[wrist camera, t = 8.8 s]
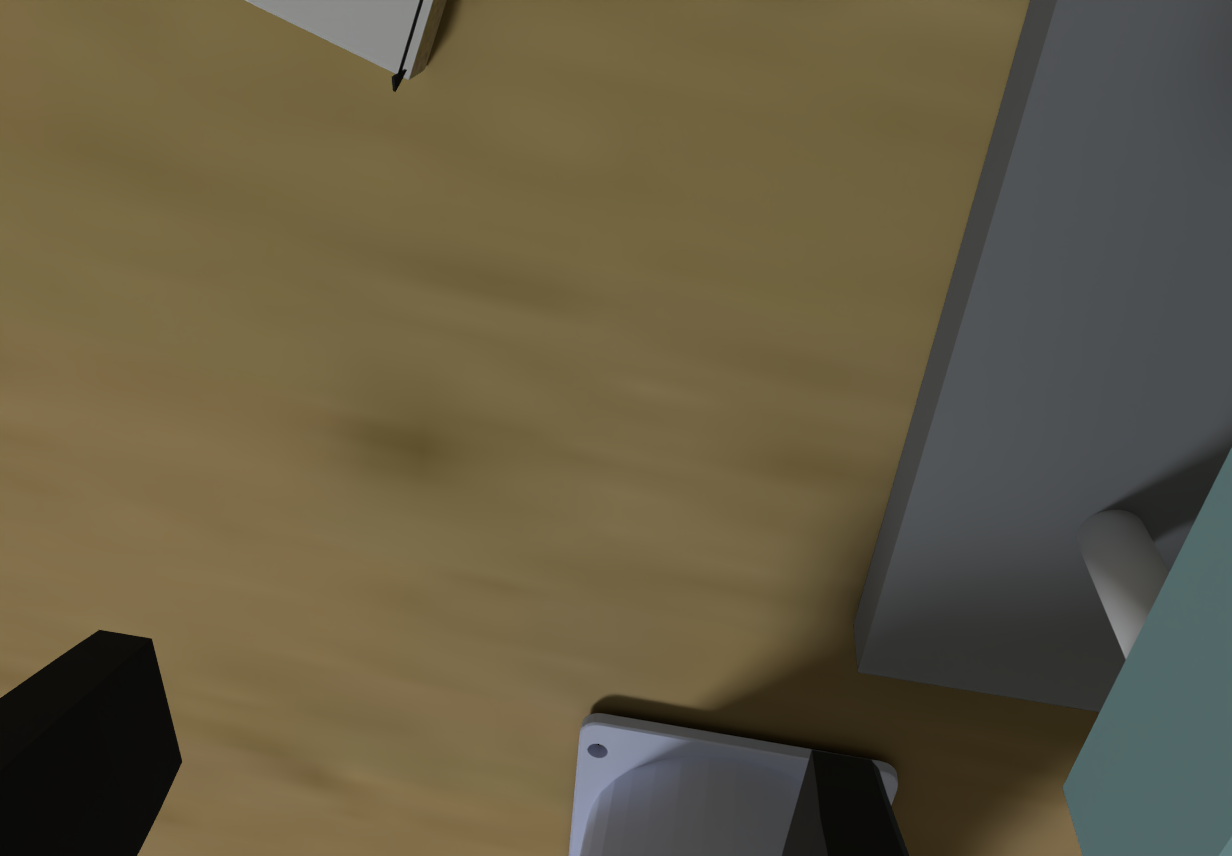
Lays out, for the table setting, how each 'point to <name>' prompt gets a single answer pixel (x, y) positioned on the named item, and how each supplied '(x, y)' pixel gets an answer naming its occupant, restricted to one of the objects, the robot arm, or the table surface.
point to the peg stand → (1069, 365)
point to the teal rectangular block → (1169, 714)
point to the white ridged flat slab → (370, 28)
